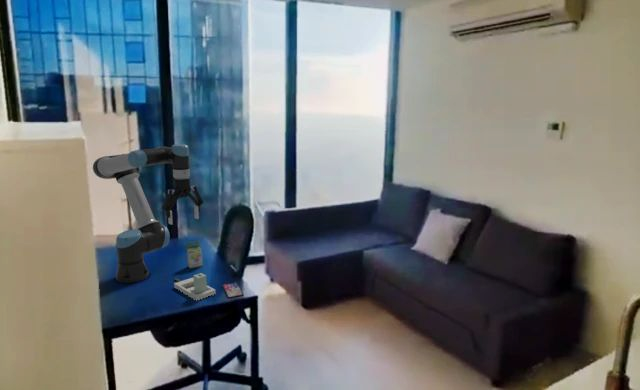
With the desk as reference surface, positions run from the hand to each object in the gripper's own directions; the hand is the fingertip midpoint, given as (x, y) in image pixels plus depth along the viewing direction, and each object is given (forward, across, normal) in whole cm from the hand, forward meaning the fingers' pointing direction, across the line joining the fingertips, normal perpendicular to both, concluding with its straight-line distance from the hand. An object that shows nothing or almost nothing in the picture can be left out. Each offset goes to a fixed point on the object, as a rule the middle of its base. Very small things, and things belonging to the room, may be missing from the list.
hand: (183, 221), depth 216 cm
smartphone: (+31, +10, -25) cm, 41 cm away
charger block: (+30, -3, -19) cm, 35 cm away
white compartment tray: (+30, -3, -9) cm, 32 cm away
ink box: (+31, +12, +14) cm, 36 cm away
